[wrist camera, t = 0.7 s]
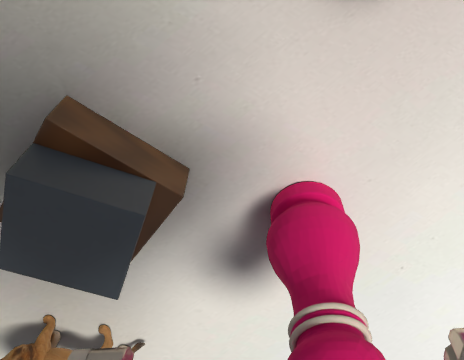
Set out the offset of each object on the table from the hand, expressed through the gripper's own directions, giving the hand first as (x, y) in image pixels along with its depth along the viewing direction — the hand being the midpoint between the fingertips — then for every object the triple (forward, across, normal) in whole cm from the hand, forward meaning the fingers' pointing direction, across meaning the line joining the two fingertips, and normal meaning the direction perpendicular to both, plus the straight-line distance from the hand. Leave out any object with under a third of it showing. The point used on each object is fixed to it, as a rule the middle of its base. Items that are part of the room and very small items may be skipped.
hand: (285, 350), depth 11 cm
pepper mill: (+23, -3, +14) cm, 27 cm away
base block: (+23, +14, +9) cm, 28 cm away
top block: (+19, +14, +9) cm, 25 cm away
